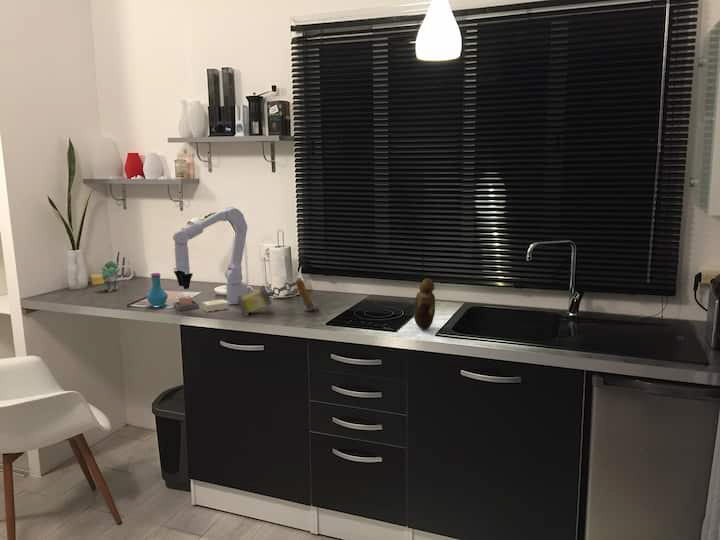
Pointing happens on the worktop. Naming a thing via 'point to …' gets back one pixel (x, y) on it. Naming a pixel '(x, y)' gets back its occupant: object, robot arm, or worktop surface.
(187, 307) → the tray
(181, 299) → the stub
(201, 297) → the worktop surface
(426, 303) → the sculpture
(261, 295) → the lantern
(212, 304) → the block
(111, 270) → the toy
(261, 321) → the worktop surface
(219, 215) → the robot arm
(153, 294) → the perfume bottle
